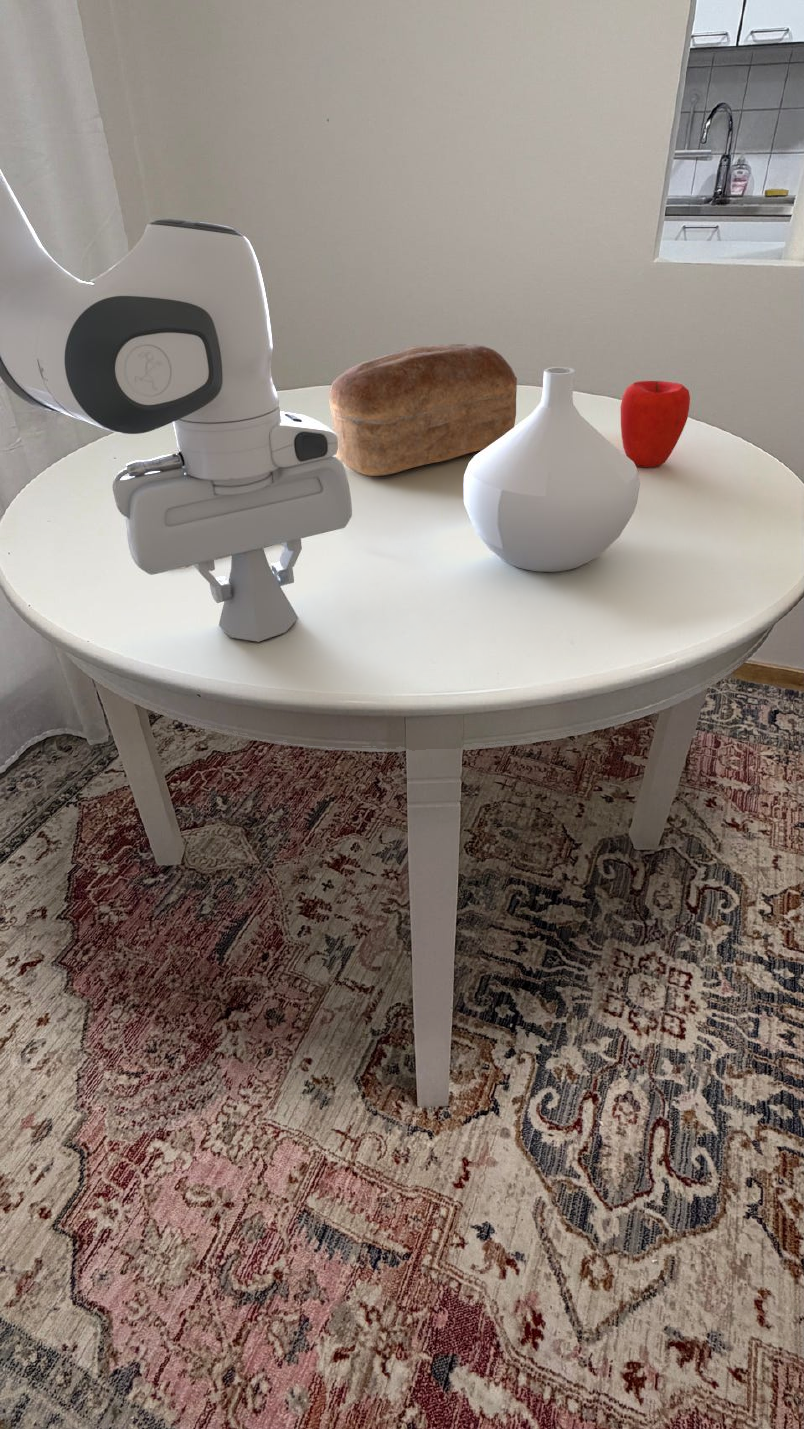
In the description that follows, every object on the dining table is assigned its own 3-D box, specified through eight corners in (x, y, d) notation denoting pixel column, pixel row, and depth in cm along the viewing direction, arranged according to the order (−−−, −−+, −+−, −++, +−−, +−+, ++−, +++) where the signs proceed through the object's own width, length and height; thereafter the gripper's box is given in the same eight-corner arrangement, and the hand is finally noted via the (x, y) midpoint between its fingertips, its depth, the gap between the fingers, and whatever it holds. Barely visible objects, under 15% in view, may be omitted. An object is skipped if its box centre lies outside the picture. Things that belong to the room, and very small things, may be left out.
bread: (322, 465, 115) (313, 358, 106) (476, 428, 127) (478, 329, 118) (366, 488, 106) (360, 375, 98) (526, 446, 119) (532, 342, 110)
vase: (662, 574, 84) (696, 382, 72) (501, 603, 79) (511, 405, 68) (579, 511, 98) (597, 343, 87) (438, 534, 94) (438, 360, 82)
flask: (258, 651, 73) (242, 550, 68) (205, 629, 77) (186, 531, 71) (311, 619, 78) (300, 522, 72) (259, 599, 82) (244, 506, 76)
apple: (673, 452, 114) (687, 372, 108) (684, 473, 107) (700, 389, 101) (610, 452, 115) (620, 373, 109) (617, 473, 108) (628, 390, 102)
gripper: (116, 478, 61) (154, 634, 69) (354, 432, 69) (363, 577, 77) (98, 456, 66) (136, 605, 74) (323, 415, 73) (335, 554, 81)
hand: (254, 590), depth 75 cm, fingers closed on flask, 5 cm apart
